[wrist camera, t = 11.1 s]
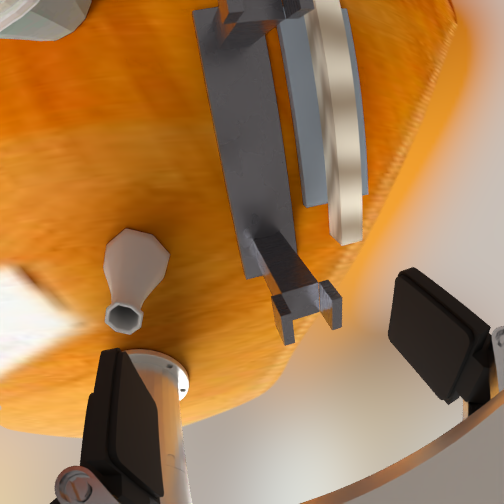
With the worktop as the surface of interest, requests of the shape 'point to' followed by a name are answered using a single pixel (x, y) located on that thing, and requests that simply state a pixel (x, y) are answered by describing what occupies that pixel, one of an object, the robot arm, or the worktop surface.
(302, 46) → the mat
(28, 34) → the disposable coffee cup
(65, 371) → the worktop surface
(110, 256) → the flask
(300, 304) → the grey holder stand
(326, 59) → the rail
